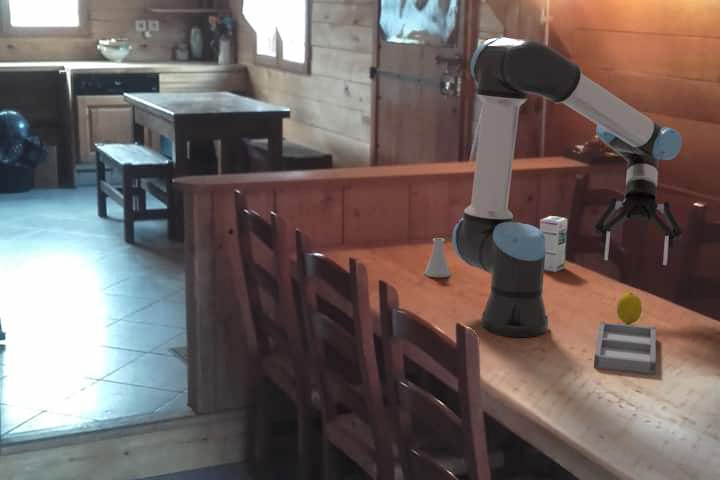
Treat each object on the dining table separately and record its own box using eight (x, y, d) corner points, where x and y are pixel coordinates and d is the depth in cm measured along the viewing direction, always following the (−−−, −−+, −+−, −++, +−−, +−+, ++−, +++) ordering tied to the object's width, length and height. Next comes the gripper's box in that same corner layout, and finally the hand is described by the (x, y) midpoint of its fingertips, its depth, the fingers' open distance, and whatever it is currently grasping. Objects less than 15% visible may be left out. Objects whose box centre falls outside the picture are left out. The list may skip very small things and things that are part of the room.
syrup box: (556, 272, 270) (559, 221, 267) (537, 268, 274) (540, 218, 270) (565, 268, 275) (568, 218, 271) (546, 264, 278) (549, 215, 275)
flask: (451, 278, 263) (453, 242, 260) (424, 278, 263) (425, 242, 260) (449, 271, 270) (451, 236, 267) (423, 271, 270) (424, 235, 267)
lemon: (640, 329, 224) (643, 296, 222) (616, 327, 225) (618, 294, 223) (639, 322, 229) (642, 289, 227) (615, 320, 230) (617, 288, 228)
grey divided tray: (654, 374, 197) (655, 363, 197) (593, 367, 200) (594, 356, 200) (654, 338, 219) (655, 327, 218) (599, 332, 222) (600, 321, 221)
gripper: (692, 198, 243) (688, 272, 232) (589, 191, 249) (582, 263, 239) (695, 181, 237) (691, 256, 226) (590, 174, 243) (582, 247, 233)
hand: (635, 259), depth 233 cm, fingers open, 13 cm apart
